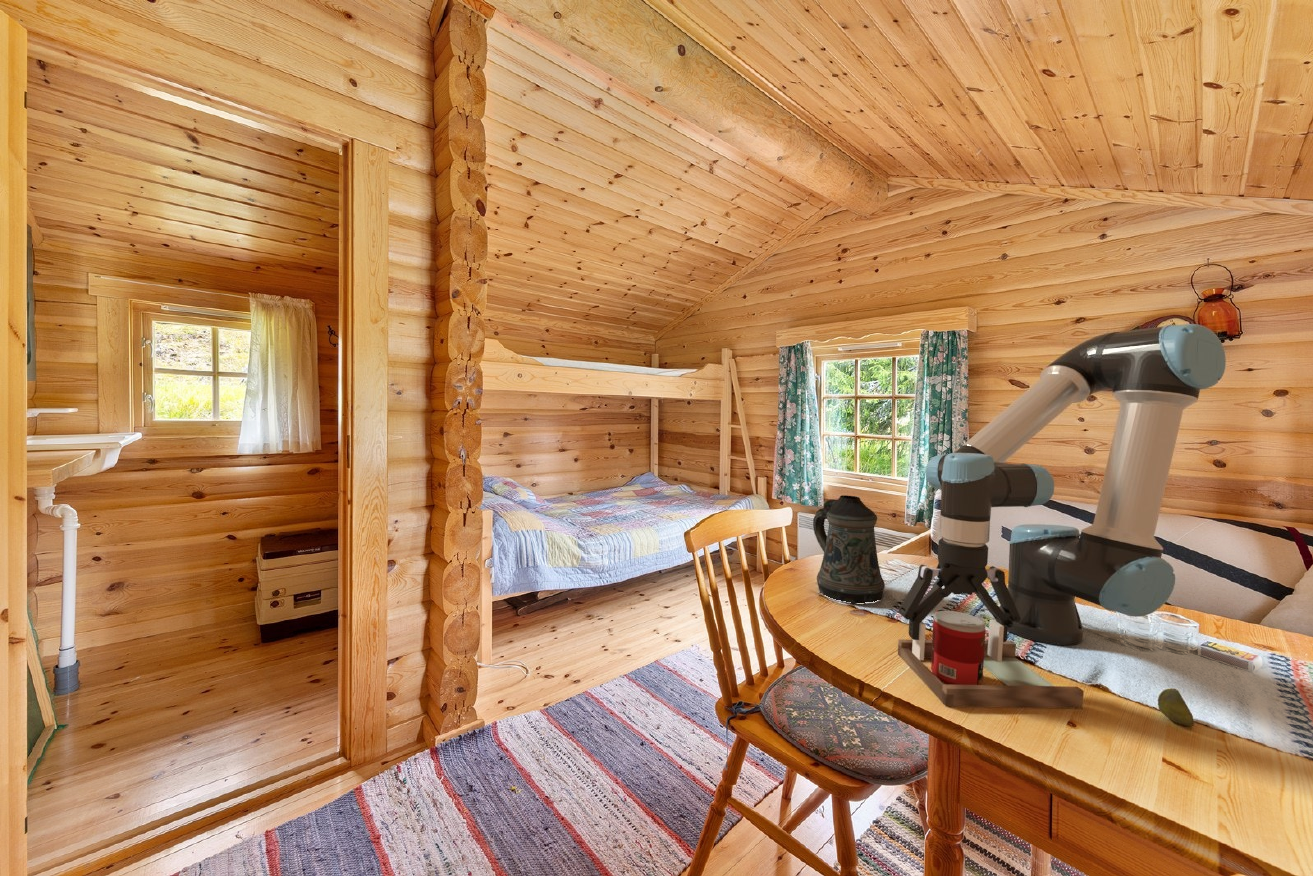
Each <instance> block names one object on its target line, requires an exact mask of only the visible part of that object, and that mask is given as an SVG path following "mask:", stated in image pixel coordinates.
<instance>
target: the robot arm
mask: <svg viewBox="0 0 1313 876" xmlns="http://www.w3.org/2000/svg"><path fill="white" fill-rule="evenodd" d="M1226 360H1227V359H1226V352H1225V349H1224V346H1223V344H1222V342H1221V340H1220V339H1219V337H1218V335H1217V334H1216V333H1215V332H1214V331H1213V330H1211V329H1210V328H1208V327H1207V326H1204V325H1201V324H1197V323H1188V324H1187V323H1186V324H1167V325H1163V326H1157V327H1148V328H1140V329H1130V330H1126V331H1125V330H1124V331H1113V332H1107V333H1104V334H1100V335H1097V336H1095V337H1091V338H1090V339H1087V340H1084V341H1083V342H1081V343H1080V344H1077V345H1075V346H1074V347H1072V348H1070V349H1069V350H1068V351H1066V352H1065V353H1063V354H1061V355H1060V356H1059V357H1057V358H1056V359H1055V360H1053V361H1052V362H1051V363H1049V364H1048V365H1047V366H1046V367H1045V368H1044V369H1043V370H1042V371H1041V372H1040V375H1039V380H1038V381H1036V382H1035V383H1033V385H1032V386H1030V388H1027V390H1026V391H1024V392H1023V393H1022V394H1021V395H1020V396H1019V397H1017V398H1016V399H1015V400H1014V401H1013V402H1012V403H1010V405H1008V406H1007V407H1006V408H1005V409H1004V410H1002V411H1001V412H1000V413H999V414H998V415H997V416H995V417H994V418H992V420H991V421H989V422H988V423H987V424H986V425H985V426H983V427H982V428H981V429H980V430H979V431H978V432H977V433H975V434H974V435H972V436H971V438H969V439H968V440H967V441H965V443H964V444H962V445H961V446H960V447H959V448H958V449H956V450H955V451H954V452H951V453H948V454H947V453H945V454H938V455H935V456H933V457H931V459H929V461H928V462H927V465H926V467H925V472H924V473H925V477H926V480H927V482H928V484H929V485H930V486H931V487H932V488H934V489H936V490H940V491H941V492H940V493H941V494H940V497H941V498H940V515H939V517H940V518H939V533H938V535H939V537H940V539H938V546H937V561H938V564H937V566H936V567H930V566H929V567H928V566H927V565H924V564H921V565H920V566H919V567H918V572H917V577H916V579H914V582H913V584H912V585H911V587H910V589H909V591H908V593H907V594H906V596H905V598H904V600H903V601H902V603H901V604H900V607H899V608H898V613H899V614H900V615H901V616H902V617H903V618H904V619H905V620H907V621H908V635H909V638H911V640H913V644H912V653H913V654H914V655H915V656H916V657H917V658H918V659H919V660H920V661H925V660H924V659H925V658H924V647H925V640H926V629H927V628H926V627H927V626H926V625H927V624H926V623H925V622H924V621H923V620H924V619H926V617H928V615H930V613H931V612H932V611H934V609H935V608H936V607H937V606H938V605H939V604H940V603H941V602H942V601H943V600H944V598H948V597H949V596H950V595H951V594H953V595H961V594H966V595H973V594H975V595H976V596H977V598H978V599H979V600H980V601H981V603H982V605H983V606H984V607H985V608H986V609H987V611H988V612H989V613H990V614H991V615H992V617H993V618H994V619H989V625H988V626H989V627H988V640H987V641H988V654H987V655H989V656H990V657H991V658H993V659H994V660H995V661H996V662H1002V648H1003V642H1006V641H1008V632H1010V633H1012V634H1014V635H1016V636H1019V637H1022V638H1025V639H1027V640H1032V641H1035V642H1040V643H1044V644H1049V645H1050V644H1051V645H1060V646H1073V645H1079V644H1080V643H1082V642H1083V641H1084V627H1083V624H1082V620H1081V617H1080V614H1079V610H1078V607H1077V604H1076V598H1078V599H1080V600H1083V601H1087V602H1088V603H1092V604H1094V605H1098V606H1100V607H1102V608H1103V609H1105V610H1107V611H1110V612H1111V611H1112V612H1115V613H1116V612H1117V613H1119V614H1123V615H1125V616H1129V617H1134V618H1135V617H1144V616H1148V615H1150V614H1153V613H1154V612H1156V611H1157V610H1159V609H1160V608H1162V607H1163V606H1164V605H1165V604H1166V603H1167V602H1168V600H1169V599H1170V597H1171V595H1172V593H1173V591H1174V589H1175V585H1176V574H1175V573H1174V572H1175V570H1174V567H1173V566H1172V565H1171V563H1170V562H1168V561H1167V560H1165V559H1163V557H1162V555H1163V552H1164V551H1163V550H1164V547H1163V546H1162V545H1161V544H1160V543H1159V542H1158V541H1157V540H1156V538H1155V533H1156V529H1157V524H1158V521H1159V516H1160V511H1161V508H1162V504H1163V499H1164V494H1165V490H1166V486H1167V481H1168V477H1169V475H1170V469H1171V464H1172V461H1173V460H1172V459H1173V456H1174V452H1175V448H1176V443H1177V439H1178V434H1179V430H1180V425H1181V422H1182V417H1183V414H1184V410H1185V409H1186V408H1188V407H1189V406H1192V405H1193V404H1195V403H1197V402H1198V401H1199V397H1200V392H1201V390H1207V389H1209V388H1212V387H1214V386H1215V385H1217V384H1218V382H1219V381H1221V379H1222V377H1223V376H1224V374H1225V370H1226V365H1227V364H1226ZM1108 390H1109V391H1110V390H1112V393H1111V394H1112V396H1113V398H1114V399H1115V400H1116V401H1117V402H1118V403H1119V404H1120V406H1119V410H1118V413H1117V418H1116V422H1115V427H1114V431H1113V436H1112V439H1111V445H1110V449H1109V452H1108V458H1107V463H1106V466H1105V470H1104V476H1103V479H1102V485H1101V488H1100V492H1099V497H1098V498H1099V499H1098V502H1097V507H1096V510H1095V514H1094V519H1093V523H1092V524H1091V525H1090V526H1086V527H1085V528H1083V529H1081V530H1079V529H1078V528H1076V527H1074V526H1068V525H1061V524H1060V525H1059V524H1044V523H1042V524H1039V523H1037V524H1036V523H1035V524H1033V523H1030V524H1028V523H1027V524H1019V525H1016V526H1014V527H1013V529H1012V530H1011V534H1010V541H1009V555H1008V579H1007V580H1008V581H1007V582H1008V583H1007V584H1006V574H1005V571H1003V570H1002V569H1000V568H998V567H997V566H996V567H995V566H993V565H992V566H990V567H989V568H986V567H987V565H988V558H989V546H988V545H987V544H988V543H989V542H990V529H991V528H990V527H991V517H992V516H991V515H992V508H1006V507H1007V508H1008V507H1009V508H1010V507H1011V508H1012V507H1023V508H1029V507H1034V506H1041V505H1044V504H1046V503H1048V502H1049V501H1050V500H1051V499H1052V497H1053V495H1054V493H1055V481H1054V478H1053V476H1052V475H1053V474H1051V472H1050V471H1049V470H1047V469H1046V468H1045V467H1043V466H1041V465H1038V464H1030V463H1020V464H1019V463H1018V464H1016V463H1015V464H1014V463H1007V462H1006V461H1007V460H1008V459H1009V458H1011V457H1012V456H1013V455H1014V454H1016V452H1017V451H1019V450H1020V449H1021V448H1022V447H1024V445H1026V444H1027V443H1028V442H1029V441H1030V440H1031V439H1033V438H1034V437H1035V436H1036V435H1037V434H1038V433H1040V432H1041V431H1042V430H1044V428H1045V427H1047V426H1048V425H1049V424H1050V423H1051V422H1052V421H1054V420H1055V419H1056V418H1057V417H1058V416H1059V415H1060V414H1062V413H1063V412H1064V411H1065V410H1066V409H1068V407H1070V406H1071V405H1072V404H1077V403H1081V402H1083V401H1086V399H1087V398H1089V397H1090V396H1092V395H1094V394H1095V393H1099V392H1103V391H1108ZM935 577H937V578H938V579H937V580H935ZM987 579H988V581H989V582H990V584H991V586H992V589H993V591H994V594H995V596H996V598H997V600H998V603H999V605H1000V606H999V605H998V604H997V602H996V601H995V600H994V599H993V598H992V596H991V595H990V593H989V592H988V591H989V590H987V589H986V588H985V587H984V585H983V583H985V581H986V580H987ZM934 580H935V582H934V583H933V584H932V588H931V589H930V590H929V587H930V586H931V583H932V581H934ZM928 590H929V591H928ZM1075 597H1076V598H1075Z"/></svg>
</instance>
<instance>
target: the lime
mask: <svg viewBox="0 0 1313 876" xmlns="http://www.w3.org/2000/svg"><path fill="white" fill-rule="evenodd" d="M1157 705H1158V710H1159V711H1160V712H1161V714H1163V715H1164V717H1166V718H1168V719H1169V720H1171V721H1172V722H1175V723H1177V724H1178V723H1180V724H1179V725H1181V724H1182V725H1181V726H1184V725H1186V727H1193V726H1195V720H1194V716H1193V714H1192V712H1191V710H1190V709H1189V707H1188V704H1187V703H1186V701H1185V700H1184V698H1183V696H1182V694H1181V692H1180V691H1179V690H1178V689H1177V688H1165V689H1164V690H1162V691H1161V692H1160V694H1159V695H1158V698H1157Z"/></svg>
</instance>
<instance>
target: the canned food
mask: <svg viewBox="0 0 1313 876" xmlns="http://www.w3.org/2000/svg"><path fill="white" fill-rule="evenodd" d="M932 618H933V620H932V622H933V623H932V636H931V637H932V639H931V640H932V658H931V659H930V660H931V662H930V663H931V664H930V665H931V666H930V668H931V669H930V671H931V672H932V673H933V674H934V675H935V676H936V677H937V678H938V679H939V680H940V681H941V682H942V683H943V684H944V685H982V683H983V680H984V667H983V665H984V648H985V641H986V623H985V622H984V621H983V620H982V619H980V618H979V617H976V616H974V615H972V614H968V613H965V612H960V611H955V610H940V611H936V612H934V613H933V617H932Z"/></svg>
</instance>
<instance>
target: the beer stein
mask: <svg viewBox="0 0 1313 876" xmlns="http://www.w3.org/2000/svg"><path fill="white" fill-rule="evenodd" d="M826 520H827V522H828V530H827V533H826V529H825V521H826ZM877 521H878V516H877V515H876V513H875V512H874V511H873V510H872V509H871V508H870V507H868V506H866V505H865V504H864V502H862V500H861V498H860V497H859V496H855V495H854V496H853V495H844V494H843V495H839V497H838V498H837V499H827V500H826V501H825V502H824V503H823V508H819V509H818V510H817V511H816V512H815V515H814V517H813V521H812V528H813V533H814V535H815V539H816V541H817V543H818V545H819V547H820V548H821V549H822V551H823V556H822V561H821V563H820V564H821V565H820V568H819V571H818V572H817V575H816V583H817V587H818V591H820V592H821V593H822V594H823V595H822V594H821V593H820V592H819V593H820V594H821V595H822V596H824V595H826V596H828V597H830V598H833V599H836V600H841V601H846V602H851V603H865V602H873V601H874V602H875V601H877V600H881V599H882V598H883V597H884V590H885V587H886V584H885V581H884V579H883V577H882V574H881V569H880V564H879V558H878V551H877V544H876V535H875V526H876V524H877ZM830 598H829V599H830ZM833 599H832V600H833ZM836 600H835V601H836ZM881 601H882V600H881Z"/></svg>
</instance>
